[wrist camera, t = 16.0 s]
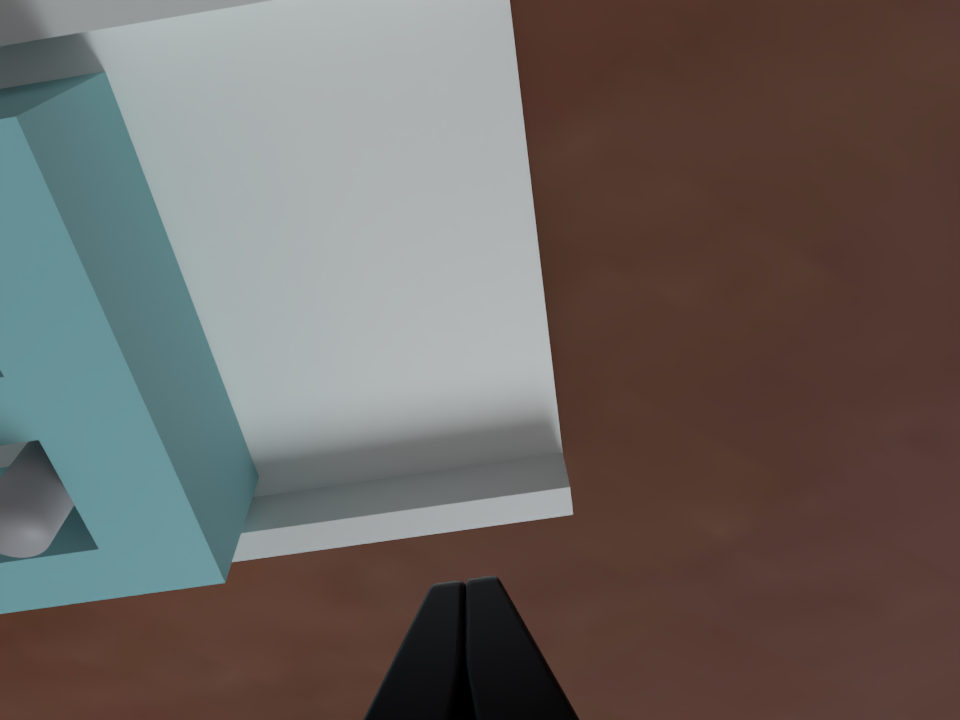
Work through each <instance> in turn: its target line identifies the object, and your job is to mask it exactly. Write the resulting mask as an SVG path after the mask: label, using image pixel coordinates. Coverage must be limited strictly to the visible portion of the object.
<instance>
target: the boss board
mask: <svg viewBox="0 0 960 720" xmlns="http://www.w3.org/2000/svg"><path fill="white" fill-rule="evenodd" d="M99 72H106V75H107V77H108V80H109V83H110V85H111V88H112V90H113V93H114V96H115V98H116V101H117V104H118V106H119V109H120V112H121V114H122V117H123V119H124V122H125V125H126V127H127V130H128V133H129V135H130V138H131V141H132V143H133V146H134V149H135V151H136V154H137V156H138V159H139V162H140V164H141V167H142V170H143V172H144V175H145V178H146V180H147V183H148V185H149V188H150V191H151V193H152V196H153V199H154V201H155V204H156V207H157V209H158V212H159V215H160V217H161V220H162V222H163V225H164V228H165V230H166V233H167V236H168V238H169V241H170V244H171V246H172V249H173V251H174V254H175V257H176V259H177V262H178V265H179V267H180V270H181V273H182V275H183V278H184V281H185V283H186V286H187V288H188V291H189V294H190V296H191V299H192V302H193V304H194V307H195V310H196V312H197V315H198V317H199V320H200V323H201V325H202V328H203V331H204V333H205V336H206V339H207V341H208V344H209V347H210V349H211V352H212V354H213V357H214V360H215V362H216V365H217V368H218V370H219V373H220V376H221V378H222V381H223V383H224V386H225V389H226V391H227V394H228V397H229V399H230V402H231V405H232V407H233V410H234V413H235V415H236V418H237V420H238V423H239V426H240V428H241V431H242V434H243V436H244V439H245V442H246V444H247V447H248V449H249V452H250V455H251V457H252V460H253V463H254V465H255V468H256V471H257V473H258V476H259V478H258V482H257V485H256V488H255V491H254V494H253V497H252V500H251V503H250V507H249V510H248V513H247V516H246V519H245V522H244V525H243V529H242V532H241V535H240V538H239V541H238V544H237V547H236V550H235V554H234V557H233V560H232V562H237V561H245V560H252V559H259V558H266V557H273V556H280V555H287V554H295V553H302V552H309V551H316V550H323V549H330V548H338V547H345V546H352V545H359V544H366V543H373V542H381V541H388V540H395V539H402V538H409V537H416V536H423V535H431V534H438V533H445V532H452V531H459V530H466V529H474V528H481V527H488V526H495V525H502V524H509V523H516V522H524V521H531V520H538V519H545V518H552V517H559V516H567V515H573V509H572V501H571V492H570V485H569V480H568V476H567V471H566V466H565V462H564V457H563V452H562V444H561V435H560V427H559V418H558V409H557V401H556V392H555V384H554V375H553V367H552V358H551V350H550V341H549V332H548V324H547V315H546V307H545V298H544V290H543V281H542V273H541V264H540V255H539V247H538V238H537V230H536V221H535V213H534V204H533V196H532V187H531V178H530V170H529V161H528V153H527V144H526V136H525V127H524V119H523V110H522V101H521V93H520V84H519V76H518V67H517V59H516V50H515V42H514V33H513V24H512V16H511V7H510V0H0V89H2V88H8V87H14V86H20V85H26V84H32V83H38V82H44V81H50V80H57V79H63V78H69V77H75V76H81V75H87V74H93V73H99ZM8 466H9V467H8ZM2 467H8V469H7V470H6V471H5V473H4V474H3V475H2V476H1V478H0V554H3V555H6V556H10V557H17V558H26V557H33V556H36V555H39V554H41V553H42V552H44V551H45V550H46V549H47V548H48V547H49V546H50V544H51V542H52V541H53V539H54V537H55V536H56V534H57V532H58V531H59V529H60V528H61V526H62V524H63V523H64V521H65V519H66V518H67V516H68V514H69V513H70V511H71V510H72V508H73V506H74V503H73V501H72V499H71V498H70V496H69V494H68V492H67V490H66V489H65V487H64V485H63V483H62V481H61V479H60V478H59V476H58V474H57V472H56V470H55V469H54V467H53V465H52V463H51V461H50V459H49V458H48V456H47V454H46V452H45V450H44V449H43V447H42V445H41V443H40V441H39V440H35V441H28V442H22V443H15V444H8V445H1V446H0V468H2Z"/></svg>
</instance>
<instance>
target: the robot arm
mask: <svg viewBox="0 0 960 720" xmlns="http://www.w3.org/2000/svg"><path fill="white" fill-rule="evenodd" d="M364 720H579V718H578V716H577V714H576V713H575V711H574V709H573V707H572V706H571V704H570V702H569V700H568V699H567V697H566V695H565V693H564V692H563V690H562V688H561V686H560V685H559V683H558V681H557V679H556V678H555V676H554V674H553V672H552V671H551V669H550V667H549V665H548V664H547V662H546V660H545V658H544V656H543V655H542V653H541V651H540V649H539V648H538V646H537V644H536V642H535V641H534V639H533V637H532V635H531V634H530V632H529V630H528V628H527V627H526V625H525V623H524V621H523V620H522V618H521V616H520V614H519V613H518V611H517V609H516V607H515V605H514V604H513V602H512V600H511V598H510V597H509V595H508V593H507V591H506V590H505V588H504V586H503V584H502V583H501V581H500V579H499V578H498V577H496V576H487V577H479V578H472V579H469V580H467V581H466V584H464V582H462V581H460V580H458V581H450V582H443V583H436V584H434V585H432V586H431V587H430V589H429V591H428V592H427V594H426V596H425V598H424V600H423V602H422V604H421V606H420V608H419V610H418V612H417V614H416V616H415V618H414V620H413V622H412V624H411V626H410V628H409V630H408V632H407V634H406V636H405V638H404V640H403V642H402V644H401V646H400V648H399V650H398V652H397V654H396V656H395V658H394V660H393V662H392V664H391V666H390V668H389V670H388V672H387V674H386V676H385V678H384V680H383V682H382V684H381V686H380V688H379V690H378V692H377V694H376V696H375V698H374V700H373V702H372V704H371V706H370V708H369V710H368V712H367V714H366V716H365V718H364Z"/></svg>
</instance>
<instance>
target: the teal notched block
mask: <svg viewBox="0 0 960 720" xmlns="http://www.w3.org/2000/svg"><path fill="white" fill-rule="evenodd" d="M35 440H39V441H40V443H41V445H42V447H43V449H44V450H45V452H46V454H47V456H48V458H49V459H50V461H51V463H52V465H53V467H54V469H55V470H56V472H57V474H58V476H59V478H60V479H61V481H62V483H63V485H64V487H65V489H66V490H67V492H68V494H69V496H70V498H71V499H72V501H73V503H74V506H73V508H72V510H71V511H70V513H69V514H68V516H67V518H66V519H65V521H64V523H63V524H62V526H61V528H60V529H59V531H58V532H57V534H56V536H55V537H54V539H53V541H52V542H51V544H50V546H49V547H48V548H47V549H46V550H45V551H44V552H42V553H41V554H39V555H36V556H33V557H26V558H17V557H10V556H6V555H3V554H0V614H3V613H10V612H18V611H25V610H32V609H39V608H47V607H54V606H61V605H68V604H75V603H83V602H90V601H97V600H104V599H112V598H119V597H126V596H133V595H141V594H148V593H155V592H162V591H170V590H177V589H184V588H191V587H198V586H206V585H213V584H220V583H225V582H226V579H227V575H228V572H229V569H230V566H231V563H232V560H233V557H234V554H235V550H236V547H237V544H238V541H239V538H240V535H241V532H242V529H243V525H244V522H245V519H246V516H247V513H248V510H249V507H250V503H251V500H252V497H253V494H254V491H255V488H256V485H257V482H258V478H259V476H258V473H257V471H256V468H255V465H254V463H253V460H252V457H251V455H250V452H249V449H248V447H247V444H246V442H245V439H244V436H243V434H242V431H241V428H240V426H239V423H238V420H237V418H236V415H235V413H234V410H233V407H232V405H231V402H230V399H229V397H228V394H227V391H226V389H225V386H224V383H223V381H222V378H221V376H220V373H219V370H218V368H217V365H216V362H215V360H214V357H213V354H212V352H211V349H210V347H209V344H208V341H207V339H206V336H205V333H204V331H203V328H202V325H201V323H200V320H199V317H198V315H197V312H196V310H195V307H194V304H193V302H192V299H191V296H190V294H189V291H188V288H187V286H186V283H185V281H184V278H183V275H182V273H181V270H180V267H179V265H178V262H177V259H176V257H175V254H174V251H173V249H172V246H171V244H170V241H169V238H168V236H167V233H166V230H165V228H164V225H163V222H162V220H161V217H160V215H159V212H158V209H157V207H156V204H155V201H154V199H153V196H152V193H151V191H150V188H149V185H148V183H147V180H146V178H145V175H144V172H143V170H142V167H141V164H140V162H139V159H138V156H137V154H136V151H135V149H134V146H133V143H132V141H131V138H130V135H129V133H128V130H127V127H126V125H125V122H124V119H123V117H122V114H121V112H120V109H119V106H118V104H117V101H116V98H115V96H114V93H113V90H112V88H111V85H110V83H109V80H108V77H107V75H106V72H99V73H93V74H87V75H81V76H75V77H69V78H63V79H57V80H50V81H44V82H38V83H32V84H26V85H20V86H14V87H8V88H2V89H0V446H1V445H8V444H15V443H22V442H28V441H35ZM8 467H9V466H8ZM8 467H2V468H0V478H1V476H2V475H3V474H4V473H5V471H6V470H7V469H8Z"/></svg>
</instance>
